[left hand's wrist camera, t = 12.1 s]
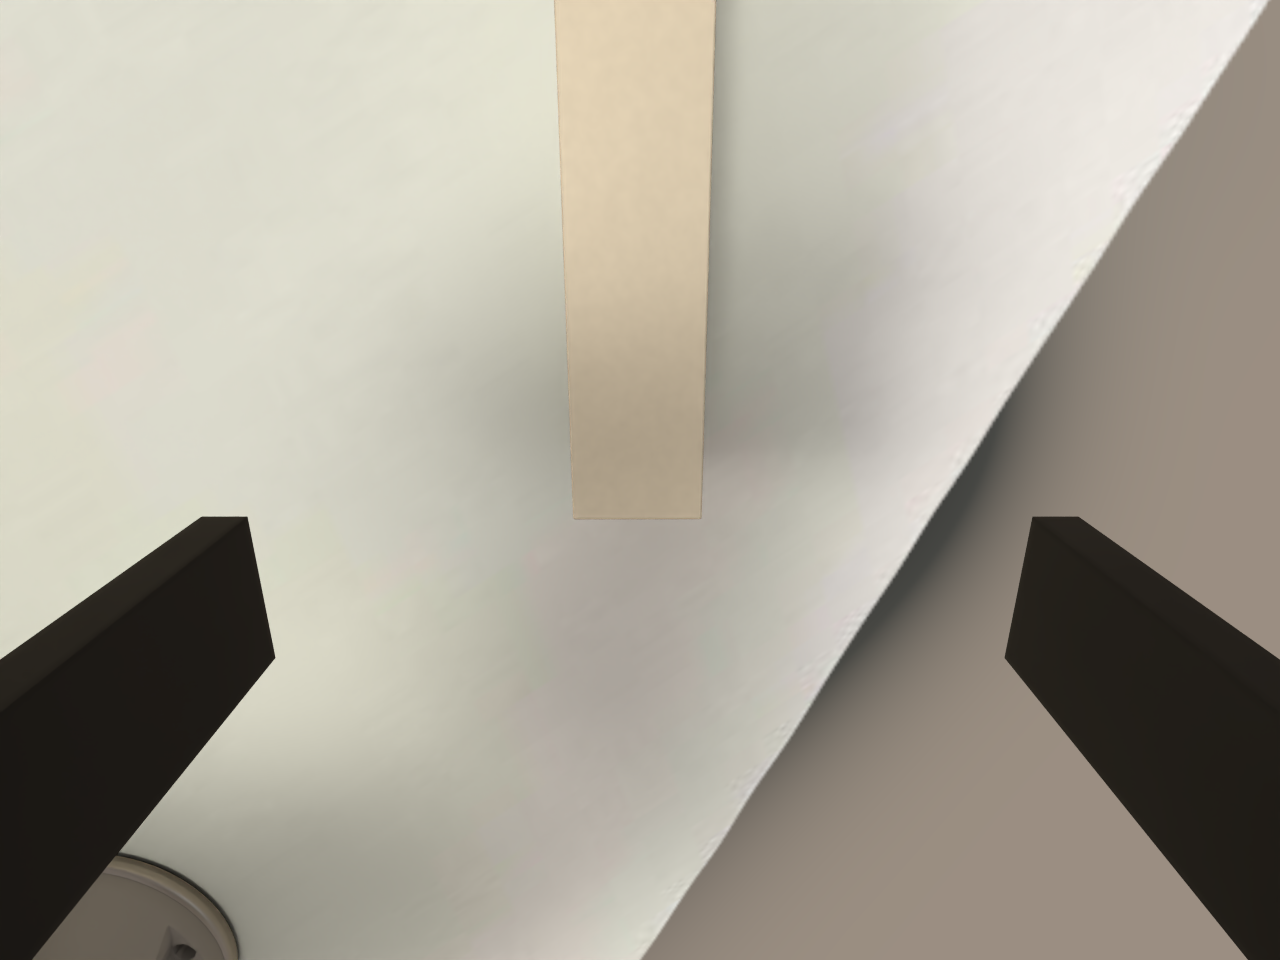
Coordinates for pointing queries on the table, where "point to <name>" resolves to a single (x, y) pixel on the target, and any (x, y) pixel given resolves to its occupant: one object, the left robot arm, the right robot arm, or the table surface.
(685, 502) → the bar
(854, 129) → the table surface
